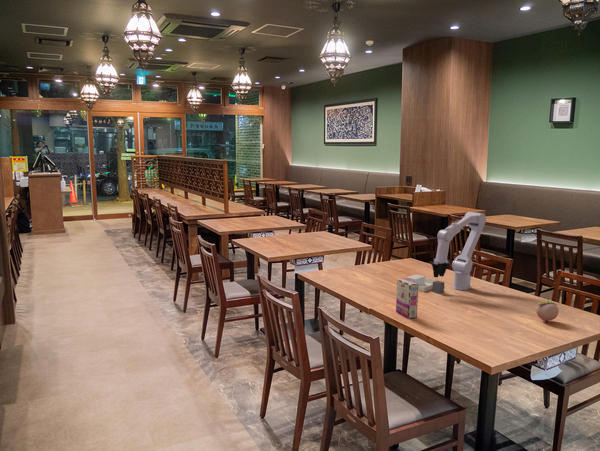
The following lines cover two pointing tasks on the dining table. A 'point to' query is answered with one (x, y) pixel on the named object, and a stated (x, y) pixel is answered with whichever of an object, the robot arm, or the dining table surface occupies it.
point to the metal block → (438, 287)
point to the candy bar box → (407, 298)
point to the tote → (426, 285)
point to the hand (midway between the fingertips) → (438, 276)
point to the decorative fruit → (547, 311)
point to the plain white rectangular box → (417, 279)
